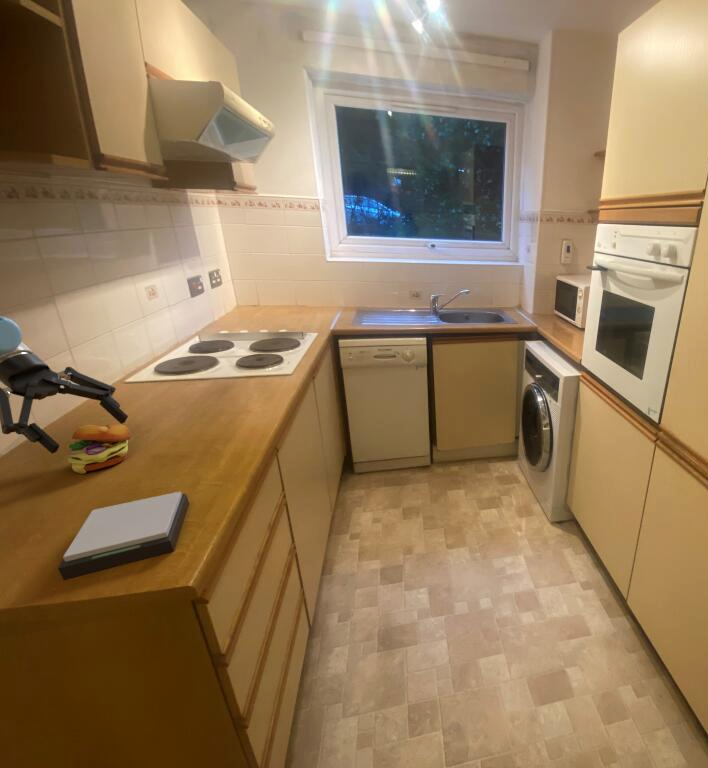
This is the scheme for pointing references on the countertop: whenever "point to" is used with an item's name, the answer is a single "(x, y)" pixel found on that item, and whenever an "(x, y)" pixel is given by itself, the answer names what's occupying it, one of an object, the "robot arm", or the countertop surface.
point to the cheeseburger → (98, 447)
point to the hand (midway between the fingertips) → (92, 434)
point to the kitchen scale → (126, 534)
